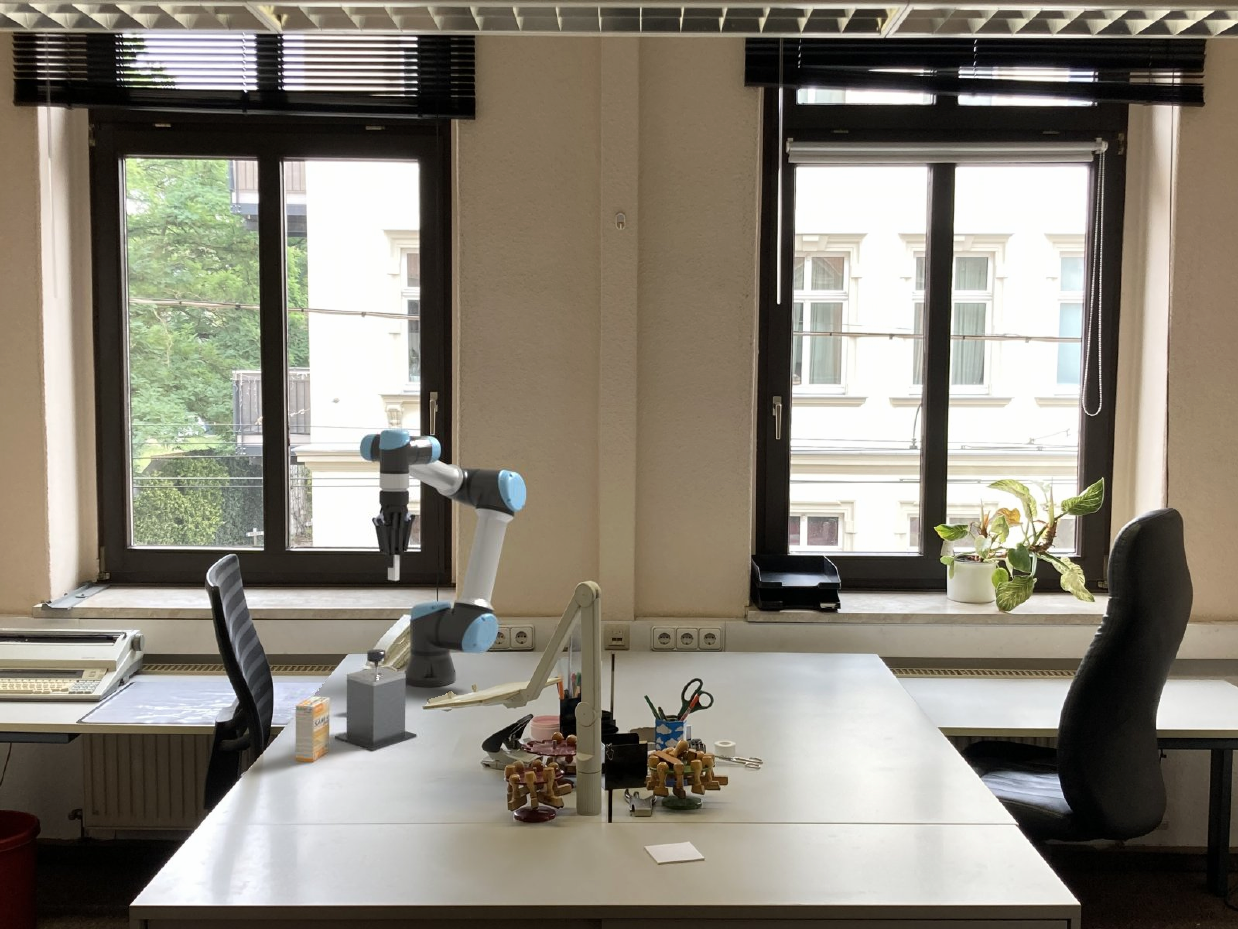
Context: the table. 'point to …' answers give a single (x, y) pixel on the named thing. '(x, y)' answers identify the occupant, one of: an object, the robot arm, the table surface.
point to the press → (375, 709)
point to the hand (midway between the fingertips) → (393, 579)
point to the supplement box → (312, 728)
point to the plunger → (376, 658)
